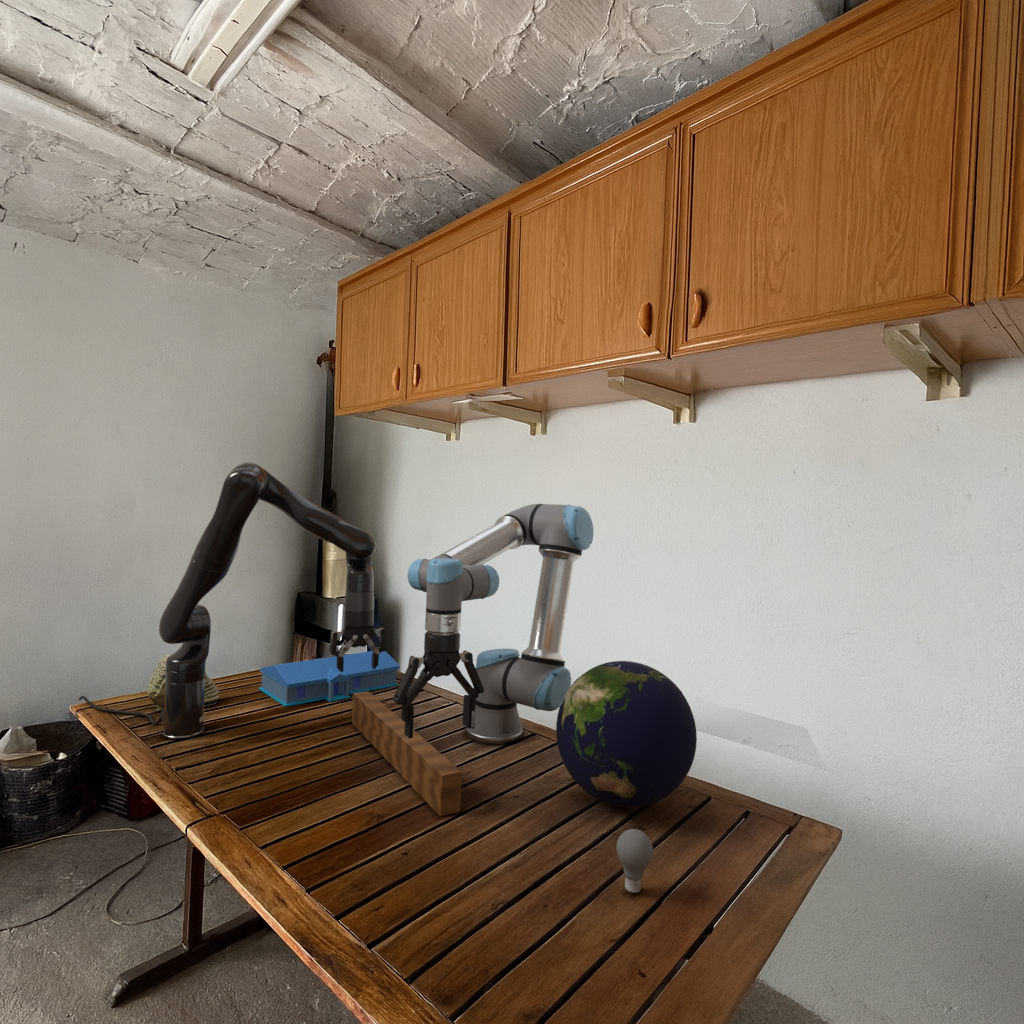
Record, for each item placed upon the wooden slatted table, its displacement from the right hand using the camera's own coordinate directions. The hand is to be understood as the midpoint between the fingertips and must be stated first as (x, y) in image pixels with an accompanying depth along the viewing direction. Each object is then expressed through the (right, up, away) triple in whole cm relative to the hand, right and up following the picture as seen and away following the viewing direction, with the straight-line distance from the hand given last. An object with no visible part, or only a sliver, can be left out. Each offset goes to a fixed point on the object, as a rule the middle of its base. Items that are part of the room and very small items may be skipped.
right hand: (438, 731), depth 135 cm
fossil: (-80, -10, +50) cm, 95 cm away
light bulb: (+36, -17, -29) cm, 49 cm away
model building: (-43, -11, +73) cm, 86 cm away
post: (-12, -14, +19) cm, 26 cm away
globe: (+40, -16, +3) cm, 43 cm away
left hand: (-25, +5, +31) cm, 40 cm away
